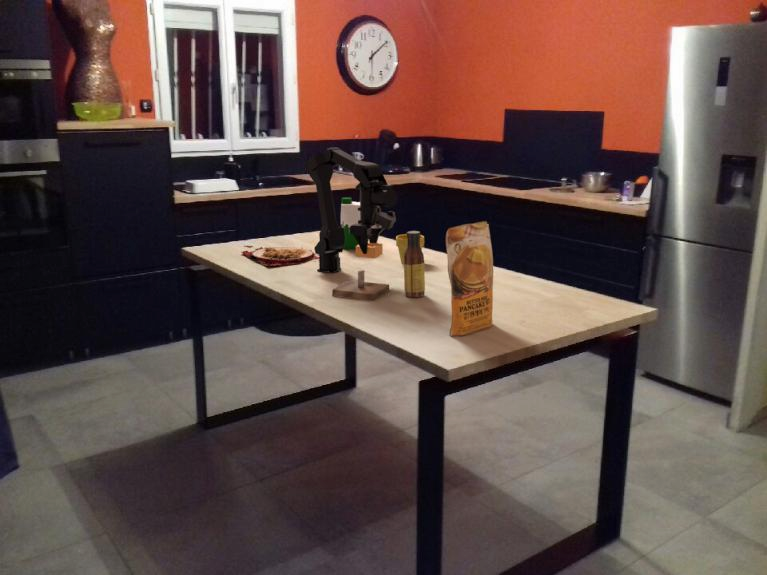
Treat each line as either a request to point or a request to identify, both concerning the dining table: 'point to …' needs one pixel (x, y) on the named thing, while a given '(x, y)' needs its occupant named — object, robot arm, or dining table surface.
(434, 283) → the dining table surface
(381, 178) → the robot arm
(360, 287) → the brown peg board
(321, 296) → the dining table surface
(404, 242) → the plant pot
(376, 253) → the orange square ring
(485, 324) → the pancake mix bag
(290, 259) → the plate with food
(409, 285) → the sauce bottle
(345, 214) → the milk carton
